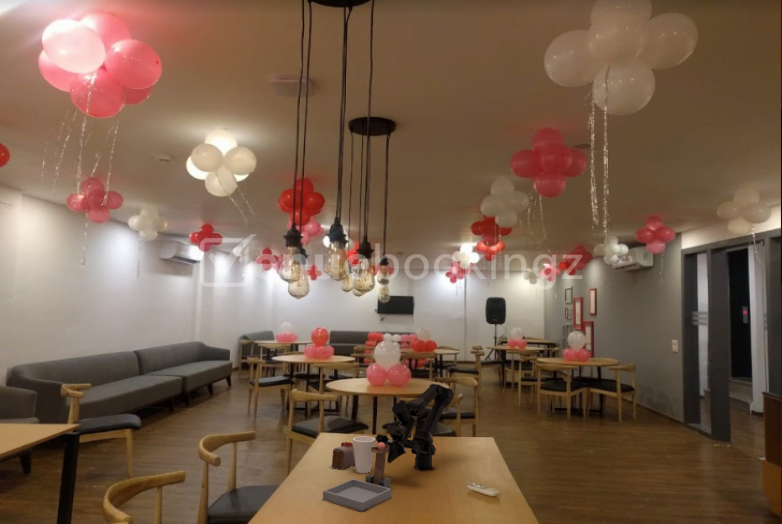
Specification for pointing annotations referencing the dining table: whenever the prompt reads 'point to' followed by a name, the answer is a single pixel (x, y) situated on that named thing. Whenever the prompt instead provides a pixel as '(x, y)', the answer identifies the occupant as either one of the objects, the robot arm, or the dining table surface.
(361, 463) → the foam cup
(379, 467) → the lever
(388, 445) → the robot arm
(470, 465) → the dining table surface
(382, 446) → the ball
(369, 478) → the lever stand
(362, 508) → the tray
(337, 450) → the food item
